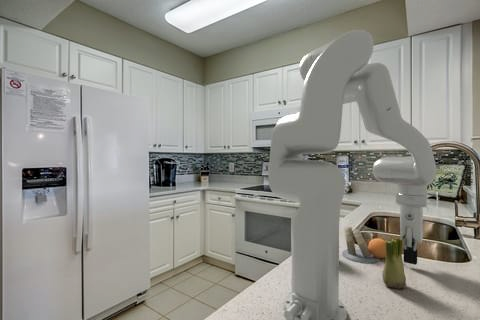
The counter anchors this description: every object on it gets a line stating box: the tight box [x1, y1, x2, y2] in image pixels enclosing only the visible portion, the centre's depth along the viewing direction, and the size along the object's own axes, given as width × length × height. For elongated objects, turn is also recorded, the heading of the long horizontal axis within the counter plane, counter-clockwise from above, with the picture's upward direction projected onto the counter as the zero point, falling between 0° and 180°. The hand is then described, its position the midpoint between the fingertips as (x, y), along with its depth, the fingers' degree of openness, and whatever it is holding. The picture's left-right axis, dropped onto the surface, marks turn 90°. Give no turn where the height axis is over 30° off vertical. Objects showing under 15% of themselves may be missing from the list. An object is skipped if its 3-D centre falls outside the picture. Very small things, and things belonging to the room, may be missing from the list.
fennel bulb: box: [381, 237, 407, 290], centre depth 62 cm, size 6×5×12 cm
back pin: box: [343, 226, 356, 255], centre depth 83 cm, size 2×2×8 cm
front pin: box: [352, 228, 372, 258], centre depth 81 cm, size 2×2×8 cm
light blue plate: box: [341, 248, 381, 264], centre depth 81 cm, size 11×11×1 cm
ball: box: [367, 237, 387, 259], centre depth 80 cm, size 6×6×6 cm
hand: (410, 262), depth 73 cm, fingers closed
